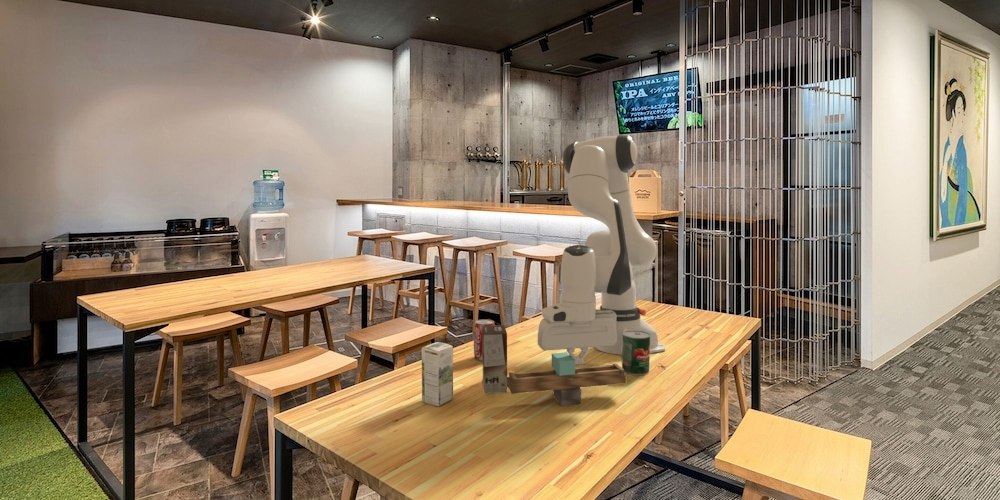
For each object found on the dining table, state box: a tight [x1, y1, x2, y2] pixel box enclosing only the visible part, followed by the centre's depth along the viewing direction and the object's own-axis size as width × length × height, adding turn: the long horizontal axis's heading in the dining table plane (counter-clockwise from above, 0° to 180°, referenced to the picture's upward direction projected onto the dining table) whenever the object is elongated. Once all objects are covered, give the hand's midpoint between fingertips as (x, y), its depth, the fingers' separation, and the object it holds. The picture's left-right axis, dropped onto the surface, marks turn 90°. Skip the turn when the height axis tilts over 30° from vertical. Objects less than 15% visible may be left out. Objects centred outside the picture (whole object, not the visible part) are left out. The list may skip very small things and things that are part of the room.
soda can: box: [473, 318, 496, 362], centre depth 169 cm, size 7×7×12 cm
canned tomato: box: [621, 330, 651, 376], centre depth 157 cm, size 8×8×11 cm
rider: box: [551, 351, 576, 376], centre depth 135 cm, size 4×6×5 cm, turn 12°
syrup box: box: [421, 341, 454, 407], centre depth 136 cm, size 6×6×14 cm
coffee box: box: [482, 324, 508, 394], centre depth 145 cm, size 9×6×16 cm
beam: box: [507, 363, 627, 407], centre depth 136 cm, size 30×7×8 cm, turn 102°
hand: (577, 364), depth 136 cm, fingers closed
